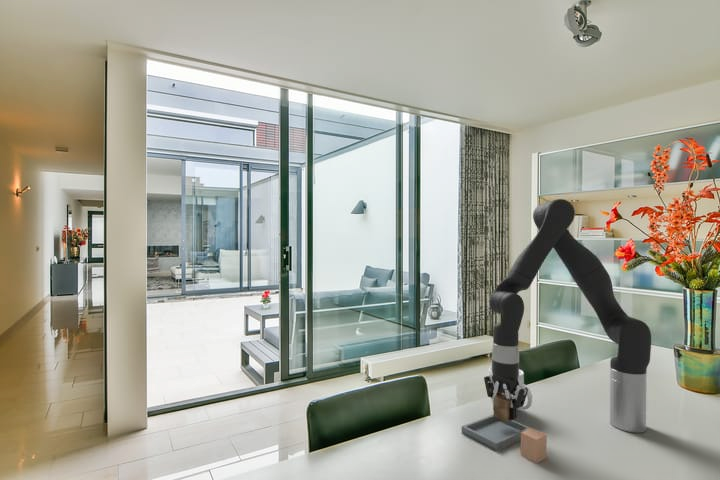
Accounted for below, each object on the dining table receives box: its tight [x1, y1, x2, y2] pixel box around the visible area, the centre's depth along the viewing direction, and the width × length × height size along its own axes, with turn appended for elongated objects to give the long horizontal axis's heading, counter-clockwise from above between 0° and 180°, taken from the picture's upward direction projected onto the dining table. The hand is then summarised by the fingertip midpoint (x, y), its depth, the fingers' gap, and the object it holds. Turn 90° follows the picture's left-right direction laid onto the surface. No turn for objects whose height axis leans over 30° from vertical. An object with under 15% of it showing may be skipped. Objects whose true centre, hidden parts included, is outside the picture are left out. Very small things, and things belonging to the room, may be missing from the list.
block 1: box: [493, 393, 517, 422], centre depth 119 cm, size 4×4×6 cm
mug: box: [488, 366, 533, 411], centre depth 133 cm, size 15×11×13 cm
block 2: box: [520, 427, 548, 464], centre depth 105 cm, size 4×4×6 cm
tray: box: [461, 413, 531, 452], centre depth 117 cm, size 16×12×2 cm
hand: (504, 416), depth 119 cm, fingers closed on block 1, 4 cm apart
